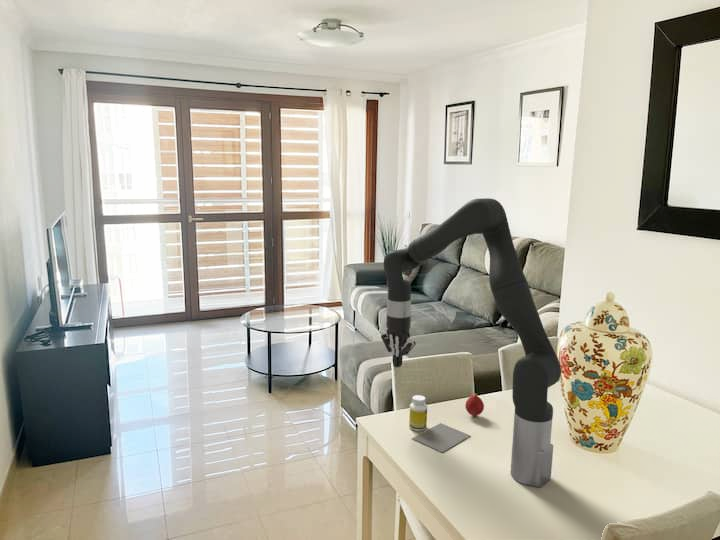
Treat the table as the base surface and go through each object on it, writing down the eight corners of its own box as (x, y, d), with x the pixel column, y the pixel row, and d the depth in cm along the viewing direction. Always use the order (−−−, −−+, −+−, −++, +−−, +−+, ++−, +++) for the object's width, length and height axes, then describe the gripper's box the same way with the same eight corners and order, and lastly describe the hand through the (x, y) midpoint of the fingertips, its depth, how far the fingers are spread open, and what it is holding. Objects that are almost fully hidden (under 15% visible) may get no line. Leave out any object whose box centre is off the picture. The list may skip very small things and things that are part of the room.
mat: (470, 436, 157) (470, 435, 157) (442, 453, 147) (442, 452, 147) (440, 423, 165) (440, 423, 165) (412, 439, 155) (412, 438, 155)
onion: (461, 414, 171) (462, 391, 170) (475, 411, 174) (476, 388, 172) (472, 422, 166) (473, 398, 165) (486, 418, 169) (488, 395, 167)
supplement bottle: (427, 431, 160) (428, 401, 158) (409, 431, 160) (410, 401, 158) (425, 423, 165) (426, 394, 163) (408, 423, 165) (409, 393, 163)
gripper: (423, 315, 160) (421, 369, 164) (390, 307, 170) (389, 358, 173) (407, 320, 155) (405, 375, 158) (374, 311, 164) (373, 363, 167)
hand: (397, 366), depth 166 cm, fingers closed
